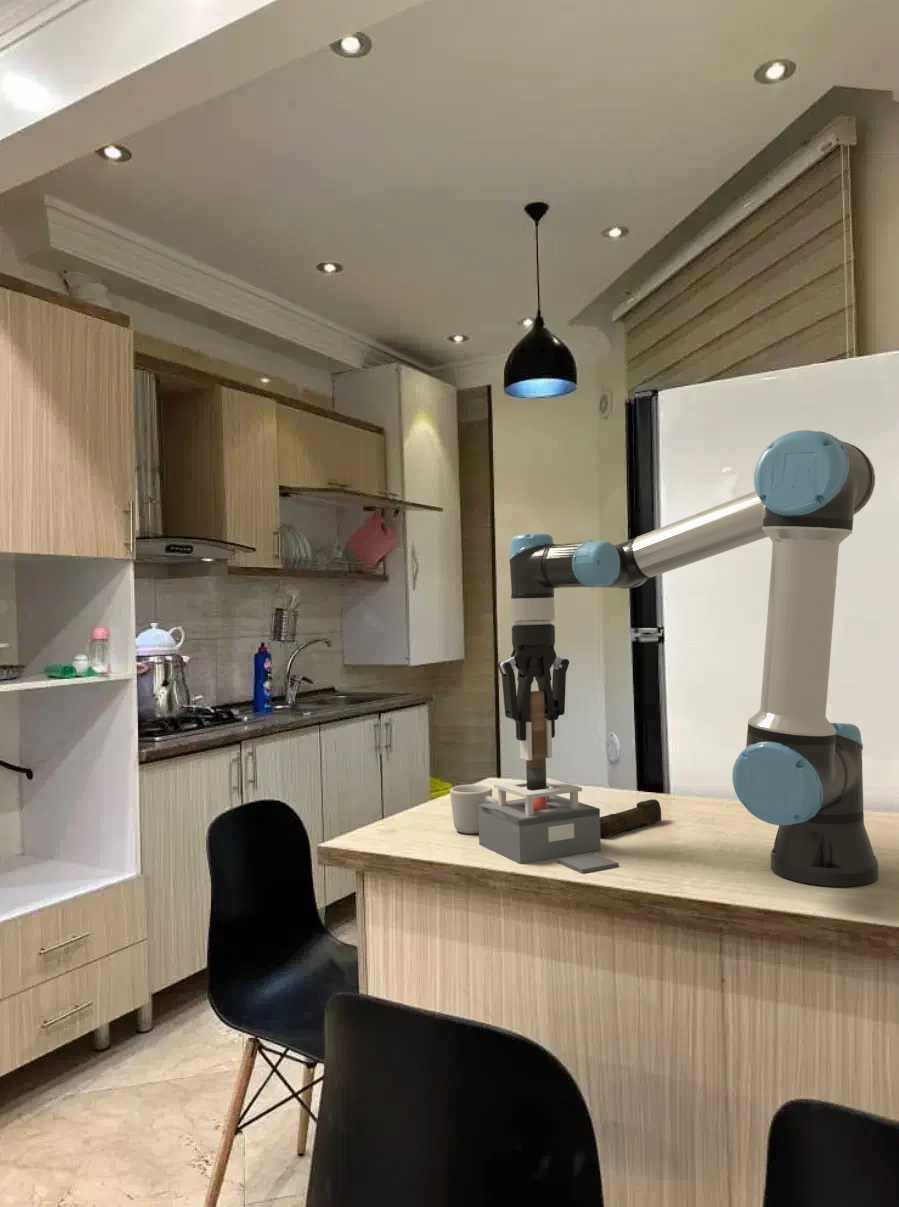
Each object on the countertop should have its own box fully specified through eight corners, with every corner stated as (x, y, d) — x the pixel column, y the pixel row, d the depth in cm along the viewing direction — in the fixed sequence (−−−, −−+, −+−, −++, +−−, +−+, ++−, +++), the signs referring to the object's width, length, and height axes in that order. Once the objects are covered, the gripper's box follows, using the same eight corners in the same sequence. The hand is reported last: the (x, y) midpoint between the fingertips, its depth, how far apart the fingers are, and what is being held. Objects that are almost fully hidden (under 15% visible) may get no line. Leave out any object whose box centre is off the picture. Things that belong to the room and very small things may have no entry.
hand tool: (604, 841, 156) (603, 815, 156) (587, 837, 159) (587, 811, 159) (672, 824, 167) (671, 800, 167) (655, 820, 170) (655, 796, 170)
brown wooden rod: (550, 790, 151) (548, 691, 152) (533, 792, 150) (531, 693, 150) (539, 786, 155) (537, 690, 155) (523, 789, 153) (520, 691, 153)
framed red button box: (601, 850, 149) (599, 787, 149) (520, 864, 142) (519, 798, 142) (555, 832, 162) (553, 775, 162) (479, 844, 155) (477, 784, 155)
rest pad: (618, 866, 139) (618, 862, 139) (582, 873, 136) (582, 869, 136) (592, 856, 145) (592, 852, 146) (557, 862, 142) (557, 858, 142)
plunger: (550, 832, 151) (549, 791, 151) (535, 834, 150) (534, 793, 150) (541, 828, 154) (540, 788, 154) (526, 830, 153) (525, 790, 153)
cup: (513, 832, 163) (512, 789, 163) (485, 841, 157) (484, 796, 157) (470, 823, 170) (469, 782, 170) (442, 832, 164) (441, 789, 164)
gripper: (560, 622, 160) (563, 750, 159) (481, 624, 152) (484, 759, 152) (584, 622, 153) (587, 756, 153) (503, 624, 145) (506, 765, 145)
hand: (536, 757), depth 152 cm, fingers closed on brown wooden rod, 3 cm apart
